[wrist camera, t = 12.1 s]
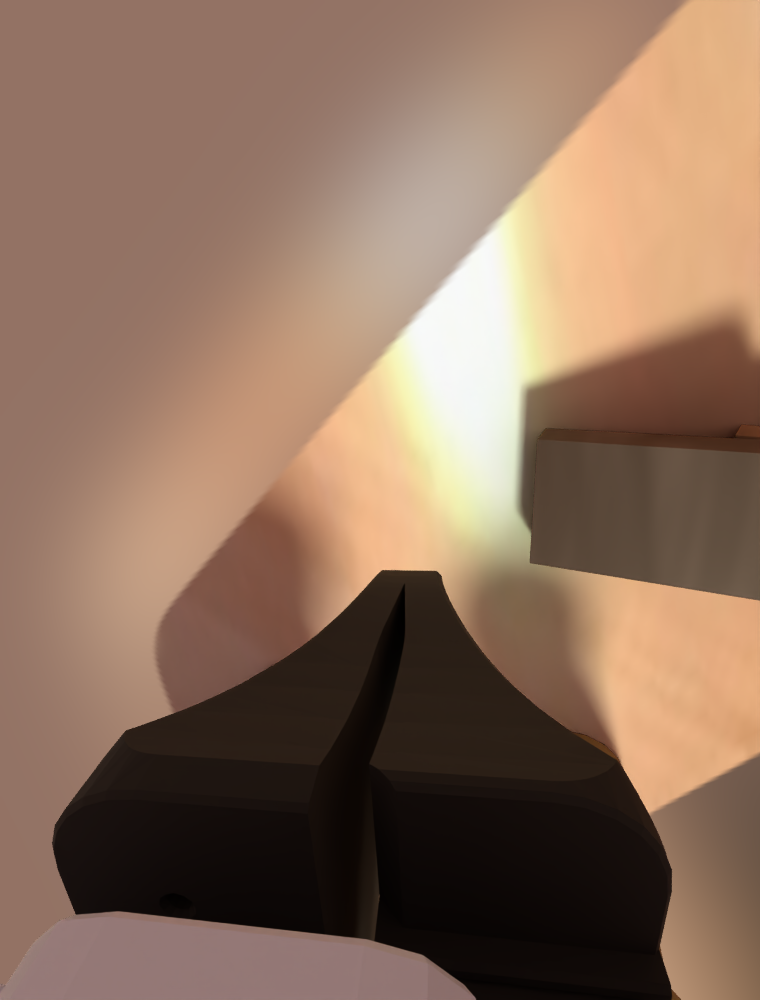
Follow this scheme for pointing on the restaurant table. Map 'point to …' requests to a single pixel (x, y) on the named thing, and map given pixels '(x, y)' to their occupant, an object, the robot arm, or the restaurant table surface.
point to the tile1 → (650, 508)
